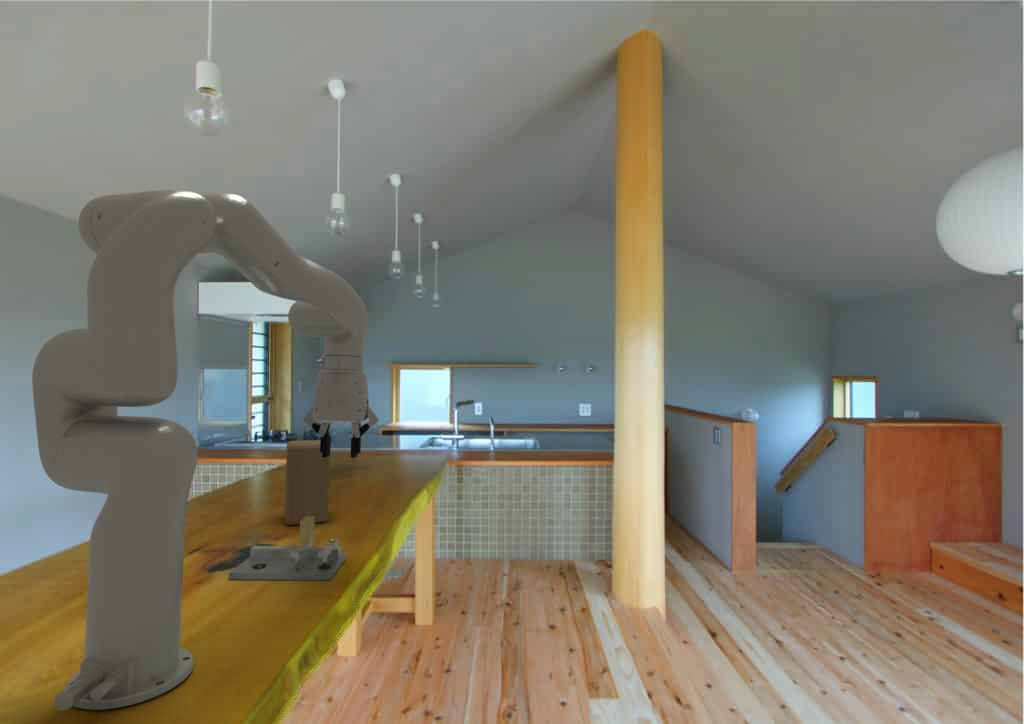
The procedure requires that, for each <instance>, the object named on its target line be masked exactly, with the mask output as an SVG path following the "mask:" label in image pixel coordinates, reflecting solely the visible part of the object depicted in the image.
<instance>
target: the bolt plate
mask: <svg viewBox="0 0 1024 724" xmlns="http://www.w3.org/2000/svg"><path fill="white" fill-rule="evenodd" d="M339 541H340V540H339V538H335V537H334V538H333V537H332V538H329V539H328V541H326V543H325V545H324V546H310V547H309V548H308V549H307V550H306V551H305V552H304V553H302V554H301V555H300V565H299V566H295V557H291V552H292V551H294V550H295V549H296V548H297V547H298V546H299V545H298V546H294V545H293V546H291V545H290V546H289V545H288V546H287V545H285V546H284V545H283V546H282V545H254V546H252V547H251V548H250V553H249V555H250V556H249V557H248V558H247V559H245V560H243V562H241V563H240V564H239V565H237V566H236V567H235V568H234V569H232V570H230V571H229V572H228V580H229V581H230V580H233V581H235V580H237V581H239V580H244V581H245V580H247V581H251V580H252V581H257V580H259V581H260V580H261V581H269V580H270V581H330V580H331V579H332V577H334V575H335V573H336V572H337V571H338V570H339V568H341V566H342V564H344V562H345V561H346V560H347V552H341V551H342V546H339Z"/></svg>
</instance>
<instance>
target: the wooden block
mask: <svg viewBox="0 0 1024 724" xmlns="http://www.w3.org/2000/svg"><path fill="white" fill-rule="evenodd" d="M285 457H286V458H285V459H286V461H285V462H286V463H285V480H284V481H285V485H284V486H285V487H284V508H283V509H284V511H283V512H284V513H283V515H284V519H285V523H286V525H288V526H295V525H296V526H297V525H298V526H299V525H300V520H301V519H302V518H304V517H305V516H315V517H314V524H319V523H321V522H322V523H326V522H327V521H328V520H329V519H328V518H329V502H330V501H329V499H330V496H329V494H330V473H331V472H330V471H331V470H330V469H331V467H330V464H331V454H330V455H329V456H327V457H325V458H324V457H322V453H320V439H317V440H315V439H313V440H311V439H309V440H306V439H305V440H304V439H303V440H290V441H288V442H287V443H286V456H285Z"/></svg>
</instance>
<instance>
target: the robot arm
mask: <svg viewBox="0 0 1024 724" xmlns="http://www.w3.org/2000/svg"><path fill="white" fill-rule="evenodd" d="M81 209H82V210H81V211H80V213H79V217H78V222H77V223H78V231H79V233H80V237H81V238H82V240H83V242H84V244H86V246H87V247H88V249H90V250H91V251H92V252H94V253H95V254H96V256H95V258H94V260H93V262H92V264H91V267H90V269H89V273H88V278H87V285H86V286H87V287H86V294H87V295H86V297H87V298H86V303H87V306H86V307H87V308H86V309H87V310H86V311H87V328H74V329H70V330H65V331H62V332H60V333H58V334H55V335H54V336H53V337H51V338H49V340H47V342H45V343H44V344H43V346H42V347H41V349H40V350H39V352H38V353H37V355H36V357H35V360H34V364H33V369H32V373H31V377H32V378H31V381H32V383H31V385H32V396H33V397H32V398H33V407H34V408H33V409H34V418H35V427H36V429H35V430H36V435H37V436H36V437H37V445H38V455H39V460H40V462H41V465H42V468H43V470H44V473H45V474H46V476H47V477H48V478H49V479H50V480H51V481H52V482H53V483H54V484H55V485H58V486H60V487H61V488H64V489H66V490H67V489H68V490H72V491H77V492H87V493H94V494H95V493H96V494H104V495H106V496H107V498H106V499H105V502H104V504H103V506H102V509H101V510H100V512H99V514H98V515H97V517H96V519H95V522H94V523H93V527H92V530H91V534H90V538H89V548H88V575H87V577H88V578H87V579H88V580H87V596H86V597H87V599H86V616H85V617H86V618H85V619H86V620H85V621H86V623H85V637H84V638H85V639H84V658H83V659H84V660H83V661H82V662H80V665H79V670H78V671H77V672H75V674H74V675H73V676H72V677H71V678H70V679H69V680H68V682H67V683H66V686H65V688H64V689H63V690H61V691H59V693H57V694H56V696H55V697H54V705H55V708H57V709H58V710H60V711H66V710H70V708H72V707H74V708H77V709H82V710H88V711H89V710H91V711H101V710H110V709H111V710H113V709H118V708H122V707H128V706H132V705H136V704H139V703H142V702H146V701H149V700H152V699H153V698H156V697H158V696H161V695H163V694H165V693H167V692H169V691H170V690H172V689H173V688H176V687H177V686H178V685H180V684H182V682H184V680H185V679H186V678H187V677H189V675H190V674H191V673H192V671H193V668H194V655H193V654H192V652H191V651H190V650H188V649H186V648H184V647H181V632H182V631H181V627H182V626H181V625H182V604H183V603H182V602H183V586H184V585H183V582H184V581H183V579H184V557H185V555H184V553H185V534H186V533H185V532H186V529H185V528H186V515H187V507H188V501H189V500H188V499H189V494H190V490H191V487H192V486H191V485H192V482H193V478H194V475H195V472H196V467H197V463H198V447H197V442H196V440H195V438H194V436H193V435H192V433H191V432H190V431H189V430H188V429H187V428H186V427H185V426H183V425H181V424H179V423H178V422H175V421H173V420H169V419H166V418H162V417H160V418H159V417H153V416H152V417H151V416H133V415H132V416H131V415H121V416H120V415H118V413H119V412H118V407H119V408H120V407H121V408H139V407H140V408H141V407H151V406H154V405H158V404H161V403H163V402H164V401H166V400H168V399H169V398H170V397H171V396H172V394H173V393H174V391H175V390H176V387H177V382H178V375H179V372H178V371H179V369H178V368H179V366H178V365H179V364H178V351H177V337H176V335H177V334H176V324H175V323H176V322H175V307H174V306H175V299H174V298H175V290H176V285H177V283H178V280H179V279H180V276H181V275H182V273H183V272H184V270H185V268H186V267H187V266H188V265H189V264H190V262H191V261H192V260H193V259H194V258H196V257H197V256H198V255H199V254H218V255H219V256H221V257H223V258H224V259H225V260H226V261H227V262H228V263H229V264H230V265H232V266H233V268H235V269H236V270H237V271H238V272H239V273H240V274H242V276H243V277H244V278H246V279H247V280H248V282H250V283H251V284H252V285H253V286H254V287H255V289H258V290H259V291H261V292H262V293H265V294H268V295H271V296H275V297H277V298H281V299H285V300H287V301H288V300H289V301H295V302H294V303H293V304H292V305H290V308H289V310H288V312H287V313H288V314H287V321H288V323H289V326H290V327H291V329H292V330H293V331H294V332H295V333H297V334H298V335H300V336H302V337H306V338H323V339H324V342H323V343H324V347H323V348H324V349H323V356H322V358H320V359H319V358H317V359H316V361H315V362H316V366H318V367H321V368H322V370H323V371H319V372H318V375H317V377H316V384H315V389H314V395H313V397H314V398H313V405H312V408H311V409H310V410H309V411H308V413H306V415H305V416H304V417H303V421H304V422H305V423H306V424H307V425H308V426H310V427H311V428H312V429H313V430H314V431H315V433H317V435H318V437H319V438H320V439H319V440H320V453H322V457H324V458H325V457H327V456H329V455H330V456H331V450H332V449H331V447H332V446H331V444H332V437H331V435H330V433H329V432H330V429H331V426H332V424H334V423H335V424H336V423H337V424H340V423H342V424H351V429H352V432H353V434H352V437H351V438H350V458H351V459H356V458H357V457H359V456H358V455H359V454H360V453H361V448H362V447H361V445H362V443H361V442H362V436H363V435H365V433H367V431H369V430H370V428H372V427H373V426H374V425H376V424H378V423H379V421H380V419H379V417H378V416H377V415H376V413H375V412H374V411H373V410H372V408H371V407H370V404H369V403H370V402H369V399H370V398H369V388H368V387H369V385H368V380H367V375H366V374H367V373H366V372H363V371H364V370H363V368H364V364H363V363H364V338H365V337H364V336H365V334H364V333H365V330H366V329H367V326H368V321H369V316H368V310H367V307H366V305H365V303H364V300H362V298H361V296H360V295H359V294H358V292H356V290H355V288H354V287H353V286H352V285H351V284H350V283H349V282H348V281H347V280H346V279H345V278H343V277H342V276H340V275H338V274H337V273H336V272H333V270H330V269H328V268H326V267H324V266H322V265H320V264H318V263H316V262H314V261H313V260H310V259H308V258H306V257H303V256H302V255H299V254H298V253H297V252H296V251H295V250H294V249H293V248H292V247H291V246H290V244H288V243H287V241H286V240H285V239H284V238H283V237H282V236H281V235H280V234H279V233H278V231H277V230H276V229H275V228H274V227H273V226H272V224H271V223H270V222H269V221H268V220H267V218H266V217H264V215H263V214H262V213H261V212H260V211H259V210H258V208H256V206H255V205H254V204H253V203H252V202H251V201H250V200H248V199H247V198H245V197H243V196H241V195H239V194H235V193H228V192H223V193H220V192H218V193H206V194H199V193H197V192H194V191H190V190H184V189H161V190H160V189H158V190H147V191H139V192H129V193H118V194H109V195H108V194H106V195H101V196H99V197H94V198H93V199H91V200H90V201H88V202H87V203H86V204H85V205H84V206H83V207H82V208H81ZM367 419H368V421H367V422H366V423H364V424H363V425H362V422H364V421H366V420H367Z"/></svg>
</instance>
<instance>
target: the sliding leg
mask: <svg viewBox="0 0 1024 724" xmlns="http://www.w3.org/2000/svg"><path fill="white" fill-rule="evenodd" d="M314 517H315V516H305V517H304V518H302V519H301V520H300V524H299V545H298V547H297V548H296V549H295V550H294V551H292V552H291V557H295V566H299V565H300V555H301V554H302V553H304V552H305V551H306V550H307V549H308V548H309V547H312V546H313V545H314V539H315V538H314V537H315V523H314Z"/></svg>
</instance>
